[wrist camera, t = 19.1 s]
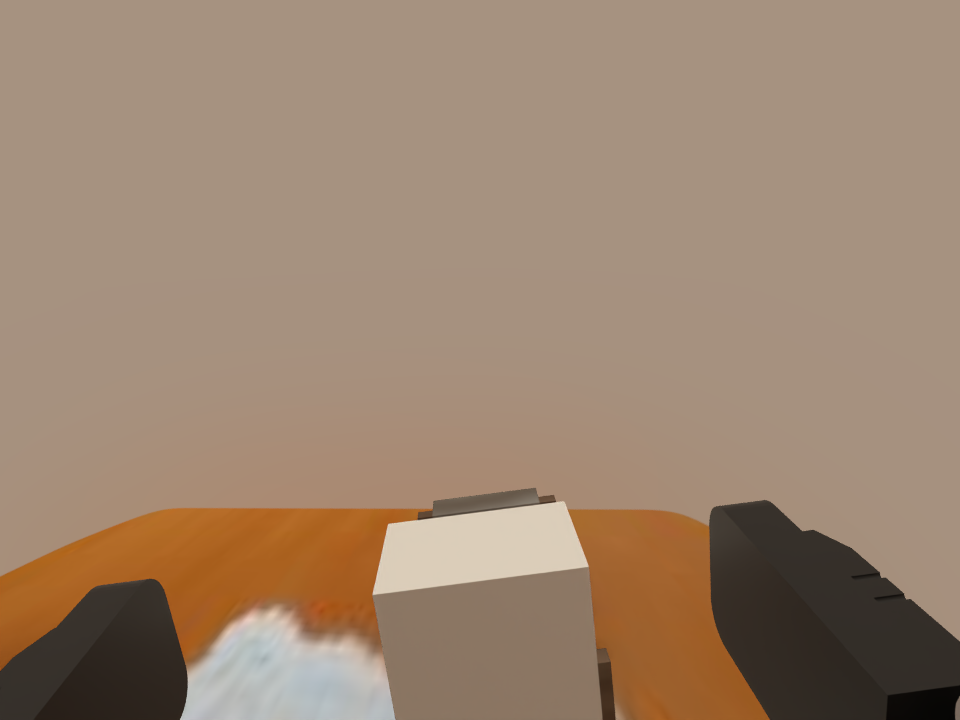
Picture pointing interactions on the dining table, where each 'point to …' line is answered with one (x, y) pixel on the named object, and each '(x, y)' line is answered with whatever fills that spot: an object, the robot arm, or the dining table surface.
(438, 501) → the offcut tall
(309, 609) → the dining table surface
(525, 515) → the beige tall block
